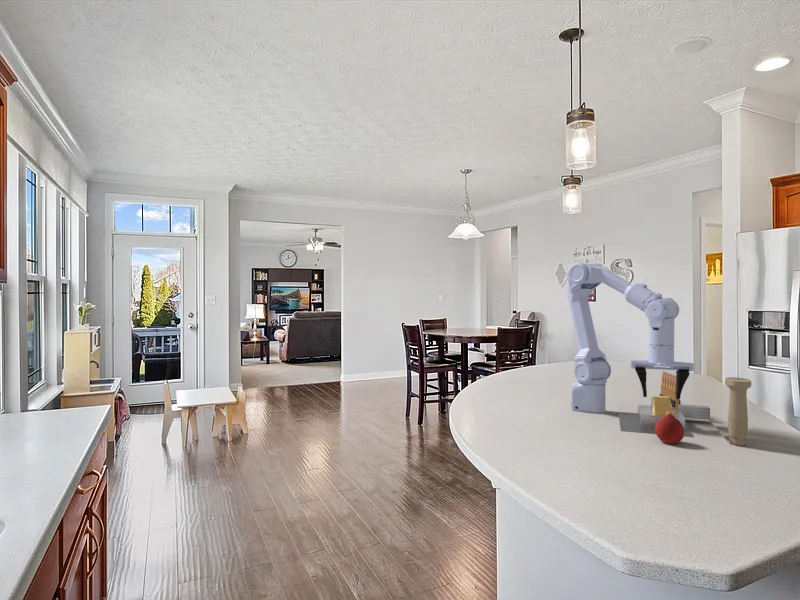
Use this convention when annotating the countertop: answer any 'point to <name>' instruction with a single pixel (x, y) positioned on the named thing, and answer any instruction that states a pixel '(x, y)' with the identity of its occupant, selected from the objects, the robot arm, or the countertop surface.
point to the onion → (669, 429)
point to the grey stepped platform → (648, 420)
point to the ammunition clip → (669, 388)
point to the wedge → (661, 405)
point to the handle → (738, 410)
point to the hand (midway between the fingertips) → (661, 397)
